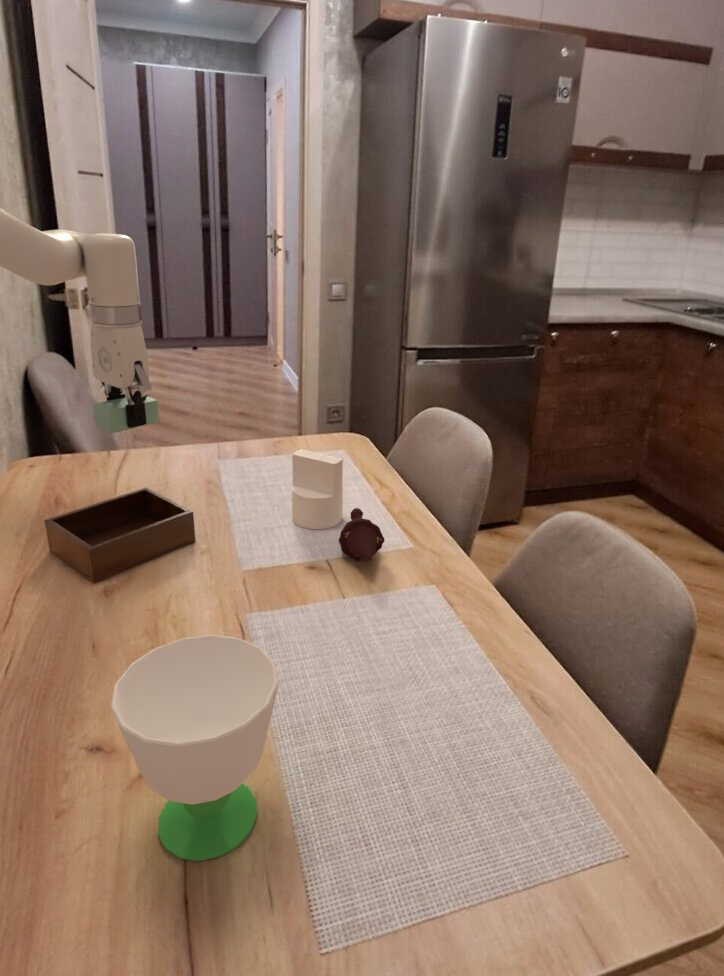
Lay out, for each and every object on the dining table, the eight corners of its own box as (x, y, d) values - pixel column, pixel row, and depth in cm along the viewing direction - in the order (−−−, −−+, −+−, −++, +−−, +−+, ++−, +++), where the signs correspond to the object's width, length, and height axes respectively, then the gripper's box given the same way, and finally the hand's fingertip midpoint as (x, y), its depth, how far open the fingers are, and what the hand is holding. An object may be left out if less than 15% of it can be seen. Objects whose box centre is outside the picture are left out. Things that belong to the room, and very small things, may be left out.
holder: (49, 551, 106) (44, 520, 104) (149, 515, 119) (146, 487, 116) (94, 583, 98) (89, 550, 96) (195, 541, 111) (193, 511, 109)
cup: (153, 761, 69) (138, 633, 63) (288, 758, 70) (285, 633, 64) (109, 889, 56) (84, 746, 50) (274, 884, 57) (269, 743, 51)
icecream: (399, 542, 101) (378, 507, 115) (352, 534, 99) (337, 499, 113) (386, 583, 103) (368, 543, 116) (340, 576, 100) (327, 536, 114)
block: (95, 426, 113) (92, 403, 111) (143, 415, 119) (141, 393, 118) (111, 433, 110) (108, 410, 108) (159, 422, 117) (157, 400, 115)
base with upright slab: (351, 513, 123) (352, 453, 119) (326, 533, 116) (326, 470, 111) (309, 503, 126) (309, 443, 122) (282, 521, 119) (281, 459, 114)
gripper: (66, 309, 109) (80, 415, 116) (124, 325, 100) (136, 439, 107) (109, 305, 115) (120, 406, 122) (168, 320, 106) (176, 429, 113)
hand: (127, 420), depth 114 cm, fingers closed on block, 5 cm apart
